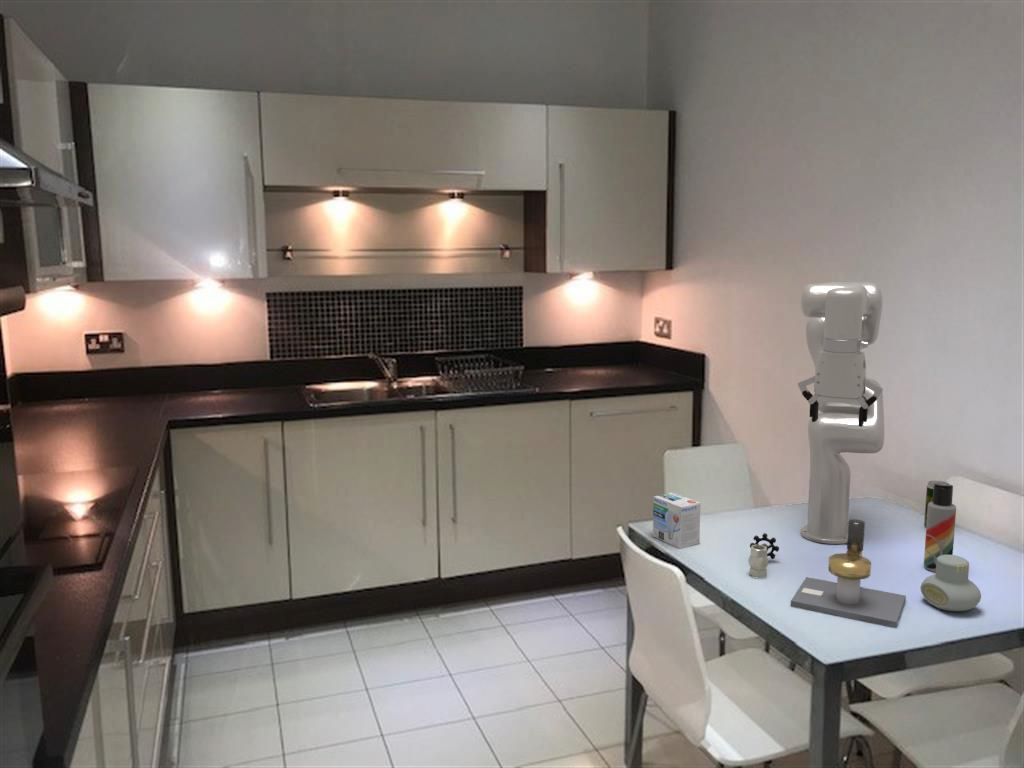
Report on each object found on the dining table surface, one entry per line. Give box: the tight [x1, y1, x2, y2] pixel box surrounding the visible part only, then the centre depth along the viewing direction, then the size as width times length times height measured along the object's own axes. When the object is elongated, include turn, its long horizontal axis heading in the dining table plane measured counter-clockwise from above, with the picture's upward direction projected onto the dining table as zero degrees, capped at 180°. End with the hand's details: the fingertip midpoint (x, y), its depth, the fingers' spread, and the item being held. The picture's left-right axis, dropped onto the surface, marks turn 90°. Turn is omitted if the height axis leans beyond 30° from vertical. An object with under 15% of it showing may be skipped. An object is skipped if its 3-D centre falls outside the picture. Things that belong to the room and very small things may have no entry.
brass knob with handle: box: [828, 518, 872, 581], centre depth 176 cm, size 8×14×8 cm, turn 151°
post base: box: [790, 576, 907, 629], centre depth 176 cm, size 14×20×7 cm
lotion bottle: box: [923, 484, 957, 573], centre depth 192 cm, size 6×6×20 cm
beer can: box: [923, 480, 951, 529], centre depth 218 cm, size 5×5×12 cm
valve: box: [748, 532, 780, 578], centre depth 195 cm, size 7×7×12 cm
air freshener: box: [920, 554, 982, 612], centre depth 174 cm, size 11×8×10 cm
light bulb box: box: [652, 491, 701, 550], centre depth 213 cm, size 11×7×11 cm, turn 31°
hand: (837, 422), depth 187 cm, fingers open, 9 cm apart
